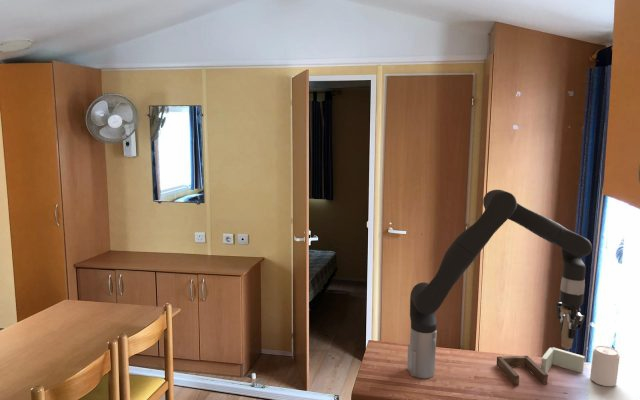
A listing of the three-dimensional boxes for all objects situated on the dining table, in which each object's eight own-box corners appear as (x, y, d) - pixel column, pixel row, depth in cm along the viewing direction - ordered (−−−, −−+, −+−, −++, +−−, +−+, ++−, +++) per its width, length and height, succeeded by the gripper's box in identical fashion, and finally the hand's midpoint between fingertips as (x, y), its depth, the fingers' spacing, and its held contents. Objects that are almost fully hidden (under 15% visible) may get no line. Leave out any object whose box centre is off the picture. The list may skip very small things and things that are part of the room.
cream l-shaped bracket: (542, 374, 177) (543, 359, 176) (529, 362, 186) (530, 348, 185) (585, 373, 179) (586, 357, 178) (570, 361, 188) (572, 346, 187)
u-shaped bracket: (514, 385, 170) (515, 375, 169) (496, 365, 184) (497, 356, 183) (547, 383, 171) (547, 374, 171) (526, 364, 185) (527, 355, 184)
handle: (578, 350, 174) (583, 310, 172) (560, 350, 174) (565, 310, 171) (571, 344, 179) (575, 305, 176) (554, 344, 179) (558, 305, 176)
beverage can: (618, 381, 173) (622, 350, 171) (613, 390, 168) (616, 358, 166) (593, 373, 179) (596, 342, 177) (587, 381, 173) (590, 350, 171)
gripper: (550, 283, 179) (546, 327, 182) (574, 297, 165) (569, 344, 168) (570, 283, 180) (565, 326, 183) (595, 297, 166) (589, 344, 169)
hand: (567, 335), depth 176 cm, fingers closed on handle, 4 cm apart
